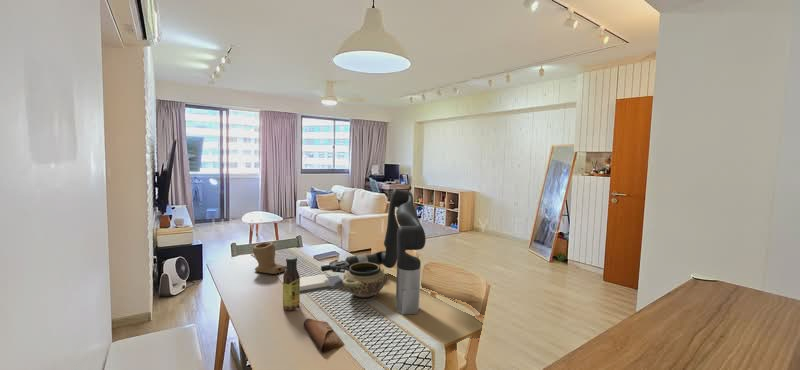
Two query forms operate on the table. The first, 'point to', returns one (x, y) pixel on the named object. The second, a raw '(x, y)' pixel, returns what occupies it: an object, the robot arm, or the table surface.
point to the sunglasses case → (323, 335)
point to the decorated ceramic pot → (364, 280)
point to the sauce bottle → (291, 285)
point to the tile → (314, 282)
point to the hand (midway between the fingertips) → (321, 268)
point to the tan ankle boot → (267, 258)
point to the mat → (334, 283)
